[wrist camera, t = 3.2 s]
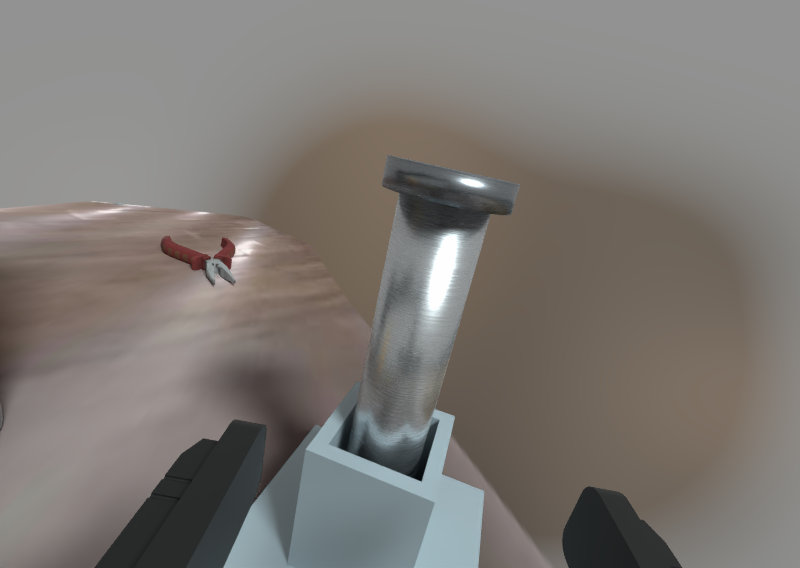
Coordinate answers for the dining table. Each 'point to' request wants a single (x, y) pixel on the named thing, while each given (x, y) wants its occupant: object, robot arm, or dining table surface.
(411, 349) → the column
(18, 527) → the dining table surface
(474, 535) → the stand base
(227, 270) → the pliers
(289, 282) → the dining table surface
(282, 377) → the dining table surface
